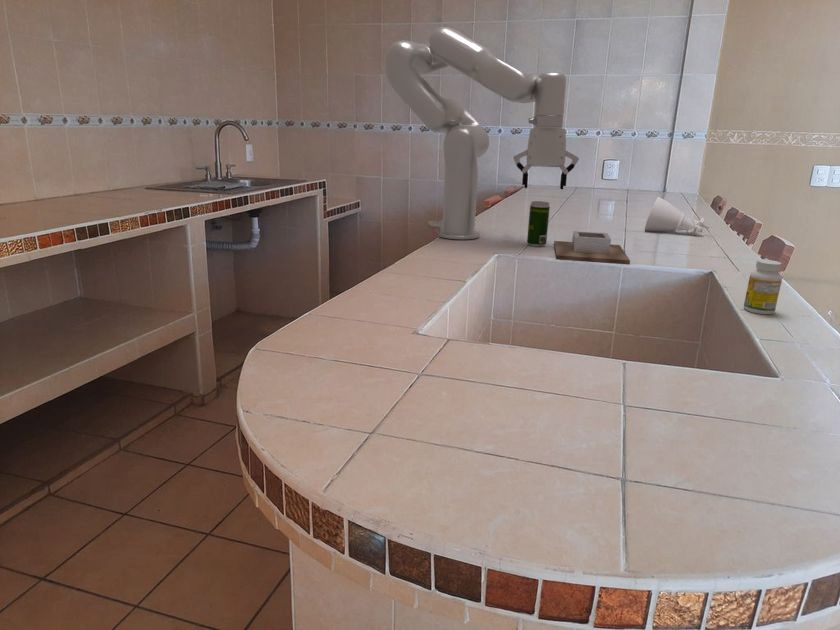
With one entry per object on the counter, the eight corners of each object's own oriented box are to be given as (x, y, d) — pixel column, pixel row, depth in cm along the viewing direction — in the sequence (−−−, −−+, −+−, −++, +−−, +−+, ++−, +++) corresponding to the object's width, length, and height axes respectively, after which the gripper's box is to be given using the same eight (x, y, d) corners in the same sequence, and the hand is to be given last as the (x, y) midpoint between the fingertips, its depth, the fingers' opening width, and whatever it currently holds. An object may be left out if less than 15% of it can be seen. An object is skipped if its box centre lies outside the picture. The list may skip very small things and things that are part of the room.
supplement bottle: (771, 316, 111) (782, 266, 108) (739, 310, 114) (750, 261, 111) (777, 310, 115) (788, 262, 112) (746, 304, 118) (756, 257, 115)
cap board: (556, 259, 153) (558, 239, 151) (554, 244, 171) (555, 226, 170) (629, 264, 150) (632, 244, 148) (619, 248, 168) (621, 230, 167)
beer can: (549, 245, 169) (554, 203, 165) (537, 247, 166) (541, 204, 162) (535, 242, 173) (539, 200, 169) (522, 244, 170) (526, 201, 166)
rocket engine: (718, 206, 188) (661, 189, 195) (706, 233, 184) (648, 214, 191) (708, 230, 198) (654, 212, 205) (696, 255, 194) (642, 237, 201)
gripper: (514, 122, 157) (511, 188, 162) (582, 123, 154) (576, 190, 159) (515, 122, 164) (512, 186, 169) (580, 123, 161) (575, 188, 166)
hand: (543, 188), depth 164 cm, fingers open, 9 cm apart
